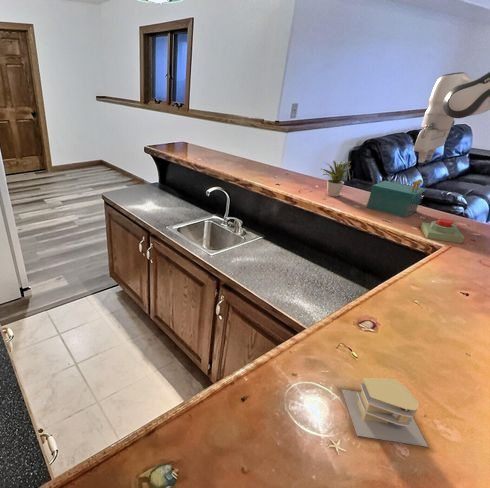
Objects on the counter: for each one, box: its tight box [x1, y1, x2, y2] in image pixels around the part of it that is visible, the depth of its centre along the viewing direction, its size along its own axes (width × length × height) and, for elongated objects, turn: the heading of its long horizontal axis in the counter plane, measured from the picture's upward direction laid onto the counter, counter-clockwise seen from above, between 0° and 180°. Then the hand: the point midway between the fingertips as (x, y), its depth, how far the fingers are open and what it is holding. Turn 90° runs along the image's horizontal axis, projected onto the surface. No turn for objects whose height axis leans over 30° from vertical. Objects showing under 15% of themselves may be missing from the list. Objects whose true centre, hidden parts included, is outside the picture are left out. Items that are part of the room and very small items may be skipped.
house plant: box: [320, 159, 352, 197], centre depth 160 cm, size 14×14×16 cm
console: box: [419, 220, 465, 244], centre depth 121 cm, size 10×10×4 cm
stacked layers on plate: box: [341, 377, 429, 448], centre depth 56 cm, size 10×9×6 cm
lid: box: [371, 178, 427, 196], centre depth 140 cm, size 15×12×5 cm
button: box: [437, 218, 454, 227], centre depth 120 cm, size 4×4×2 cm
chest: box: [366, 186, 423, 218], centre depth 143 cm, size 15×12×9 cm
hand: (424, 161), depth 132 cm, fingers open, 5 cm apart
